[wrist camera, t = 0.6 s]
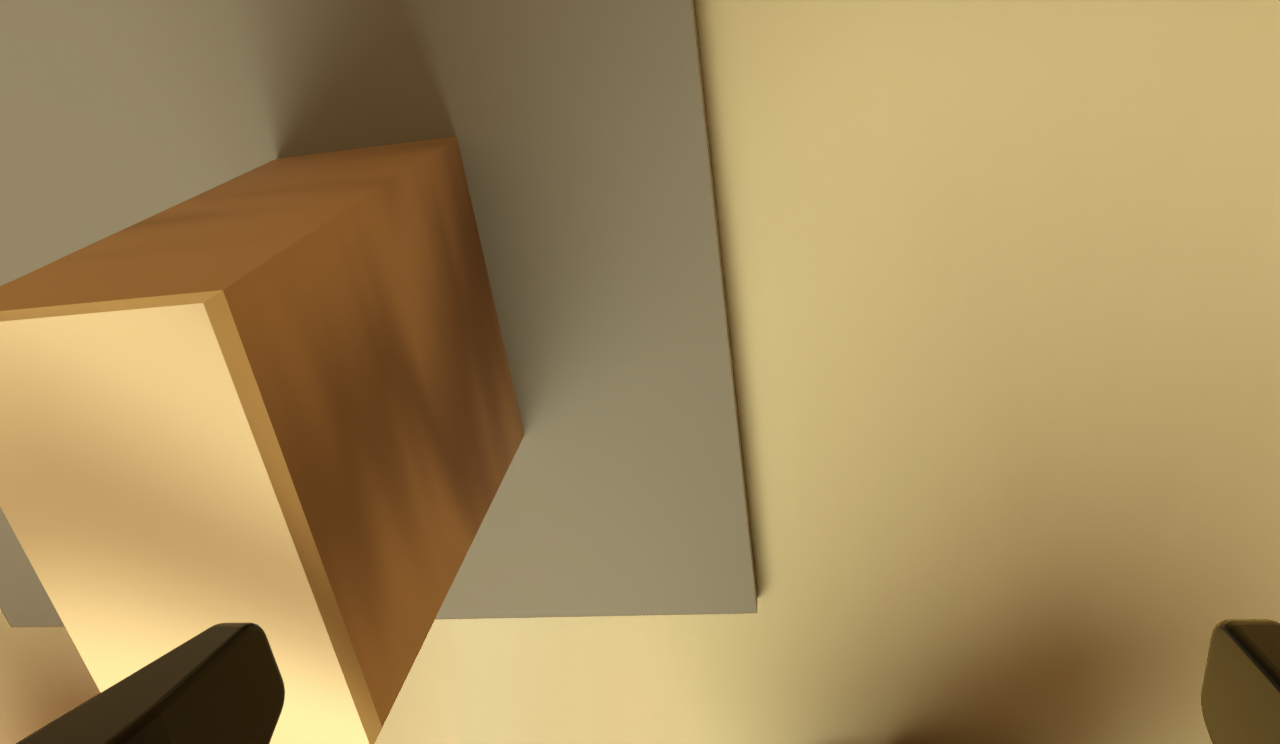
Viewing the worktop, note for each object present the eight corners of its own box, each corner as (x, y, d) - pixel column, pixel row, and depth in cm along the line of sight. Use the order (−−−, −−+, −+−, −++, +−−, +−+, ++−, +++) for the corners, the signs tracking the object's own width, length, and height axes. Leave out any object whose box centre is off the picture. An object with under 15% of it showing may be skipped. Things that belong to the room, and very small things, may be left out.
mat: (757, 600, 23) (757, 613, 22) (23, 615, 27) (11, 627, 26) (669, -229, 15) (666, -234, 15) (-342, -35, 19) (-368, -34, 19)
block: (524, 435, 21) (371, 749, 13) (366, 444, 22) (130, 747, 14) (456, 136, 18) (202, 303, 10) (276, 158, 19) (-95, 330, 11)
